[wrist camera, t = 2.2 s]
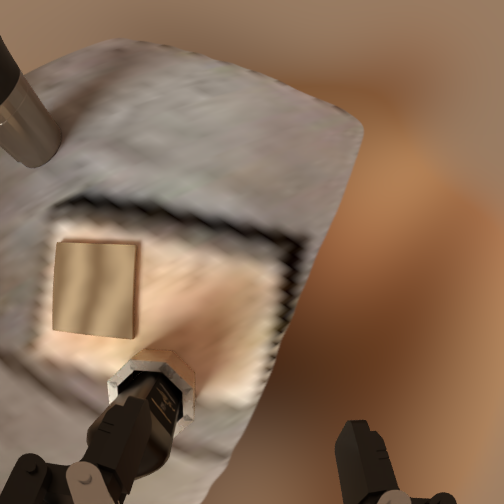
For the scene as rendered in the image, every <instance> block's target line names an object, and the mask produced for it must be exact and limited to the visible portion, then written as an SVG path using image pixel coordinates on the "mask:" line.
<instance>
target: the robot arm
mask: <svg viewBox="0 0 504 504" xmlns="http://www.w3.org/2000/svg"><path fill="white" fill-rule="evenodd" d="M60 141H61V130H60V128H59V127H58V125H57V124H56V122H55V121H54V120H53V118H52V117H51V115H50V114H49V112H48V111H47V109H46V108H45V106H44V105H43V104H42V102H41V101H40V99H39V98H38V96H37V95H36V93H35V92H34V90H33V89H32V87H31V86H30V84H29V82H28V81H27V79H26V78H25V76H24V75H23V73H22V72H21V70H20V69H19V67H18V65H17V64H16V62H15V61H14V59H13V57H12V56H11V54H10V53H9V51H8V49H7V47H6V46H5V44H4V42H3V40H2V38H1V36H0V146H1V147H2V148H3V149H4V150H5V151H6V152H7V153H8V154H9V155H11V156H12V157H13V158H14V159H15V160H16V161H17V162H21V163H22V164H24V165H25V166H26V167H29V168H36V167H39V166H41V165H43V164H45V163H46V162H47V161H48V160H49V159H50V158H51V157H52V156H53V155H54V154H55V152H56V151H57V149H58V147H59V144H60ZM151 429H152V419H151V414H150V408H149V403H148V400H147V399H143V398H139V397H135V396H131V395H130V396H128V398H127V399H126V401H125V403H124V406H121V405H117V404H115V405H114V406H113V407H112V408H110V409H109V410H108V411H107V412H106V414H105V416H104V418H103V420H102V423H100V425H99V427H98V430H97V431H96V433H95V435H94V437H93V439H92V441H91V443H90V445H89V447H88V449H87V451H86V453H85V455H84V457H83V458H82V459H81V460H80V461H79V462H76V463H73V464H72V465H69V466H64V465H57V464H50V463H45V461H44V460H43V459H42V458H41V457H40V456H38V455H36V454H32V453H28V454H24V455H22V456H21V457H20V458H19V459H18V461H17V462H16V464H15V466H14V468H13V470H12V472H11V474H10V476H9V478H8V480H7V482H6V484H5V486H4V489H3V491H2V493H1V495H0V504H120V503H119V501H118V500H119V497H120V494H121V492H122V493H125V494H128V495H129V494H130V491H131V488H132V485H133V482H134V479H135V476H136V473H137V470H138V468H139V465H140V462H141V459H142V456H143V453H144V450H145V448H146V445H147V442H148V439H149V437H150V434H151ZM335 456H336V462H337V467H338V473H339V479H340V485H341V491H342V497H343V503H344V504H457V503H456V500H455V498H454V497H453V496H452V495H450V494H449V493H445V492H444V493H443V492H442V493H438V494H436V495H435V496H433V497H432V498H431V499H426V498H425V499H423V498H411V497H409V496H408V495H407V494H406V493H405V492H403V491H400V489H399V488H398V485H397V481H396V478H395V475H394V471H393V469H392V465H391V462H390V459H389V456H388V452H387V451H386V446H385V443H384V440H383V439H382V437H381V436H380V435H379V434H378V433H377V432H376V431H370V429H369V426H368V423H367V421H366V420H350V421H347V422H346V424H345V426H344V428H343V429H342V431H341V433H340V435H339V437H338V439H337V441H336V444H335Z"/></svg>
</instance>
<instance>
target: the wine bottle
mask: <svg viewBox="0 0 504 504" xmlns="http://www.w3.org/2000/svg"><path fill="white" fill-rule="evenodd" d="M130 395H131V396H135V397H139V398H143V399H147V400H148V403H149V408H150V414H151V419H152V429H151V434H150V437H149V439H148V442H147V445H146V448H145V450H144V453H143V456H142V459H141V462H140V465H139V468H138V470H137V473H136V476H135V479H134V480H137V479H140V478H142V477H145V476H147V475H150V474H152V473H154V472H155V471H157V470H159V469H160V468H161V467H162V466H163V465H164V464H165V463H166V462H167V460H168V458H169V457H170V452H171V447H172V442H173V437H174V432H175V427H176V423H177V418H178V413H179V409H180V404H181V399H182V391H181V390H180V389H179V388H178V387H177V386H176V385H175V384H174V383H173V382H172V381H170V380H169V379H168V378H167V377H166V376H165V375H164V374H163V373H162V372H154V371H143V372H141V373H139V374H138V375H137V376H136V377H135V378H134V379H133V380H132V381H131V382H130V383H129V384H128V385H127V387H126V388H125V389H124V390H123V391H122V392H121V393H120V394H119V395H118V396H117V398H116V399H115V400H114V401H113V402H112V403H111V404H110V405H109V406H108V407H107V408H106V410H105V411H104V412H103V413H102V414H101V415H100V416H99V417H98V418H97V419H96V420H95V422H94V423H93V424H92V425H91V426H90V427H89V429H88V431H87V441H86V442H87V445H88V447H89V445H90V443H91V441H92V439H93V437H94V435H95V433H96V431H97V430H98V427H99V425H100V423H102V420H103V418H104V416H105V414H106V412H107V411H108V410H109V409H110V408H112V407H113V406H114V405H115V404H117V405H121V406H124V403H125V401H126V399H127V398H128V396H130ZM126 495H127V494H125V493H122V492H121V494H120V497H119V500H118V501H119V503H120V504H123V502H124V500H125V497H126Z"/></svg>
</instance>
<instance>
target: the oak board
mask: <svg viewBox="0 0 504 504" xmlns="http://www.w3.org/2000/svg"><path fill="white" fill-rule="evenodd" d="M136 254H137V246H136V245H121V244H93V243H63V242H57V245H56V255H55V266H54V281H53V315H52V319H53V330H55V331H62V332H69V333H77V334H85V335H93V336H102V337H112V338H122V339H134V293H135V270H136Z"/></svg>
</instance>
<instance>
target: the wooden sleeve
mask: <svg viewBox="0 0 504 504" xmlns="http://www.w3.org/2000/svg"><path fill="white" fill-rule="evenodd" d="M134 370H141V371H154V372H162V373H163V374H164V375H165V376H166V377H167V378H168V379H169V380H170V381H172V382H173V383H174V384H175V385H176V386H177V387H178V388H179V389H180V390H181V391H182V395H183V400H182V401H181V404H180V409H179V413H178V418H177V423H176V427H175V432H174V437H175V436H176V435H178V434H179V433H180V432H181V431H182V430H184V429H185V428H186V427H187V426H188V425H189V424H191V423H192V422H193V421H194V415H195V401H196V400H195V372H194V371H193V370H192V369H191V368H190V367H189V366H188V365H187V364H186V363H185V362H184V361H183V360H182V359H181V358H180V357H179V356H178V355H177V354H176V353H175V352H174V351H166V350H150V349H143V350H141V351H140V352H139V353H138V354H136V355H135V356H134V357H132V358H131V359H130V360H129V361H128V362H127V363H126V364H125V365H124V366H123V367H122V368H121V369H120V370H119V371H118V372H117V373H116V374H114V375H113V376H112V377H111V378H110V379H109V380H108V381H107V382H108V394H109V404H111V403H112V402H113V401H114V400H115V399H116V398H117V396H118V395H119V394H120V393H121V392H122V391H123V390H124V389H125V388H126V387H127V385H128V384H129V383H130V382H131V381H132V380H133V375H132V372H133V371H134ZM174 437H173V438H174Z"/></svg>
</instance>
